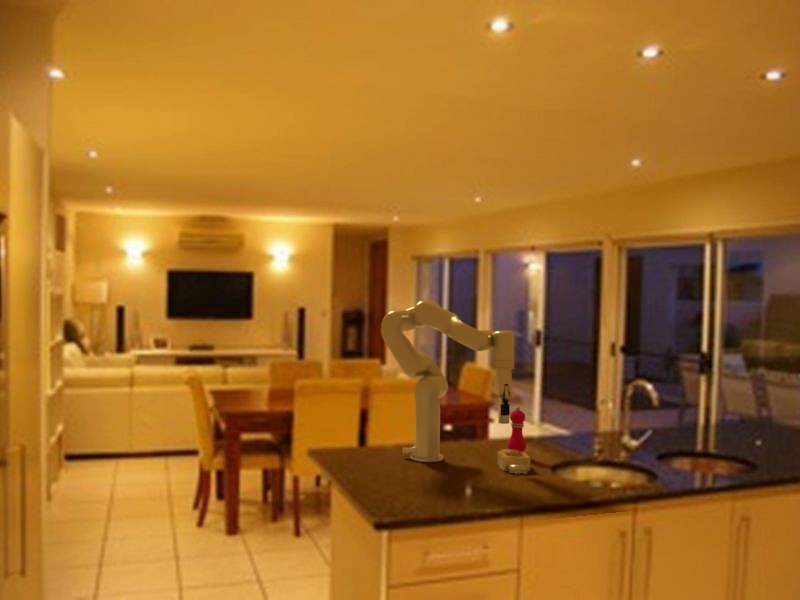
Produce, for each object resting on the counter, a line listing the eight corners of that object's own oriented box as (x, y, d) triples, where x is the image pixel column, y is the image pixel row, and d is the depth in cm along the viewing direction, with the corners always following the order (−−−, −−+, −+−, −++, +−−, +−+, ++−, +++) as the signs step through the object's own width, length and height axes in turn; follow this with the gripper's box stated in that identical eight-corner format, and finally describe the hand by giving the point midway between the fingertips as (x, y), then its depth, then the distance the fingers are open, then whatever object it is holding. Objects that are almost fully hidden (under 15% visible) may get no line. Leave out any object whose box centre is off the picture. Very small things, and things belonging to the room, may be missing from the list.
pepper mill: (525, 459, 267) (527, 408, 267) (506, 458, 268) (508, 407, 268) (525, 455, 274) (527, 405, 274) (507, 454, 276) (509, 404, 275)
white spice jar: (498, 424, 250) (497, 391, 250) (495, 421, 255) (495, 389, 255) (512, 423, 250) (512, 390, 250) (509, 421, 256) (509, 389, 256)
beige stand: (504, 473, 245) (505, 459, 245) (495, 462, 262) (496, 449, 262) (532, 474, 245) (532, 460, 245) (521, 462, 262) (521, 449, 262)
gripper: (489, 362, 261) (490, 410, 261) (497, 366, 245) (497, 418, 244) (509, 362, 262) (509, 410, 261) (518, 366, 245) (518, 417, 245)
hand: (503, 413), depth 253 cm, fingers closed on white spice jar, 4 cm apart
